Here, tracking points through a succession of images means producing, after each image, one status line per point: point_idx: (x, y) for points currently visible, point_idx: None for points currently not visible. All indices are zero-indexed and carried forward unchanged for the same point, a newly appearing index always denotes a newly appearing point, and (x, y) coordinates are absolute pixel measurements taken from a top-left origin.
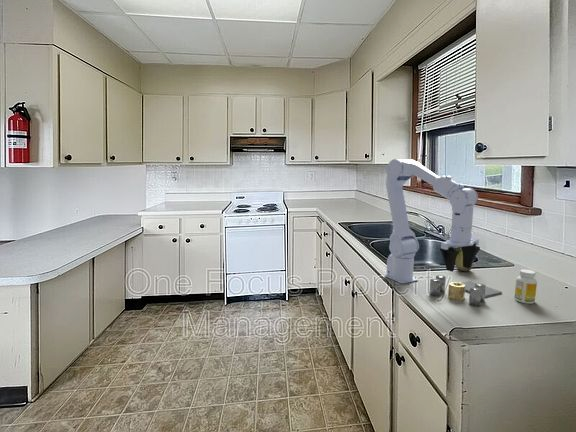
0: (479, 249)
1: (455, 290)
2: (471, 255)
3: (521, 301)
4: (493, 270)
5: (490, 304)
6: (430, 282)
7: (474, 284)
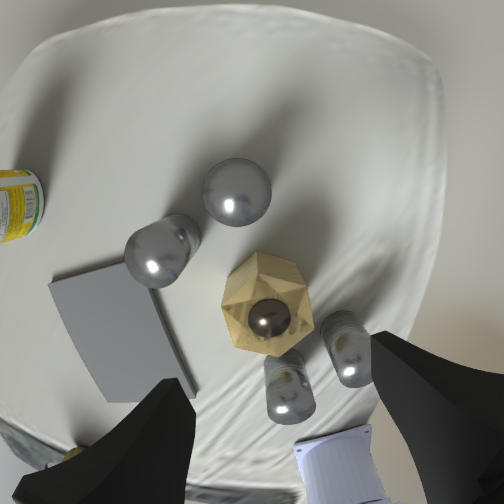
0: (24, 480)
1: (302, 278)
2: (132, 465)
3: (38, 182)
4: (25, 421)
5: (161, 179)
6: None
7: (106, 374)
